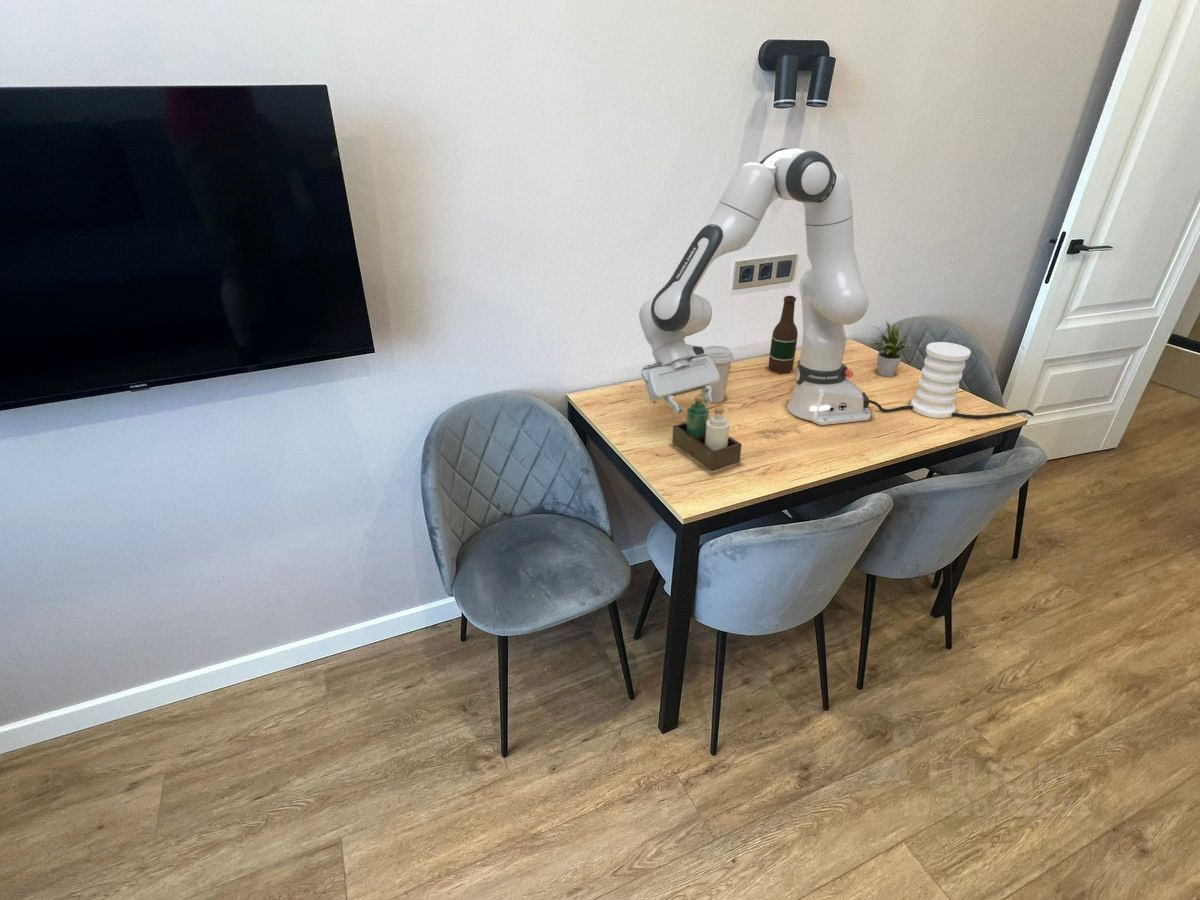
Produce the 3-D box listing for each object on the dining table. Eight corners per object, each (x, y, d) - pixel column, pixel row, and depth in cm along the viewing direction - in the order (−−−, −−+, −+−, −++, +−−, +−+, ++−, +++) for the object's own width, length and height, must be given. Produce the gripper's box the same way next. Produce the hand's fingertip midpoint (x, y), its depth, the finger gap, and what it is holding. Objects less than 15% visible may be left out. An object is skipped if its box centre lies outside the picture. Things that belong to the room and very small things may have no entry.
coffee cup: (693, 401, 189) (696, 354, 181) (701, 389, 196) (704, 342, 189) (725, 406, 185) (730, 358, 178) (732, 393, 193) (737, 346, 186)
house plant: (851, 364, 211) (860, 316, 203) (891, 362, 213) (902, 314, 204) (872, 381, 199) (882, 331, 191) (914, 379, 200) (927, 329, 192)
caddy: (672, 445, 166) (673, 425, 164) (698, 437, 170) (700, 417, 167) (711, 474, 154) (713, 453, 151) (739, 464, 158) (741, 444, 155)
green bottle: (705, 440, 167) (708, 391, 160) (708, 450, 162) (712, 401, 155) (683, 440, 167) (686, 392, 160) (686, 451, 162) (689, 401, 155)
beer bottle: (793, 374, 205) (804, 301, 193) (768, 373, 206) (777, 299, 194) (791, 365, 211) (802, 293, 199) (767, 364, 213) (776, 292, 201)
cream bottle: (724, 452, 161) (729, 403, 154) (728, 464, 156) (733, 413, 149) (702, 453, 161) (705, 403, 154) (705, 464, 156) (709, 414, 149)
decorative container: (964, 413, 180) (982, 352, 171) (933, 421, 176) (950, 359, 167) (931, 397, 189) (946, 339, 180) (901, 404, 185) (915, 345, 176)
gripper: (644, 361, 156) (665, 413, 153) (710, 345, 165) (732, 394, 162) (634, 372, 162) (654, 422, 159) (699, 356, 170) (719, 403, 168)
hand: (694, 408), depth 161 cm, fingers open, 8 cm apart
